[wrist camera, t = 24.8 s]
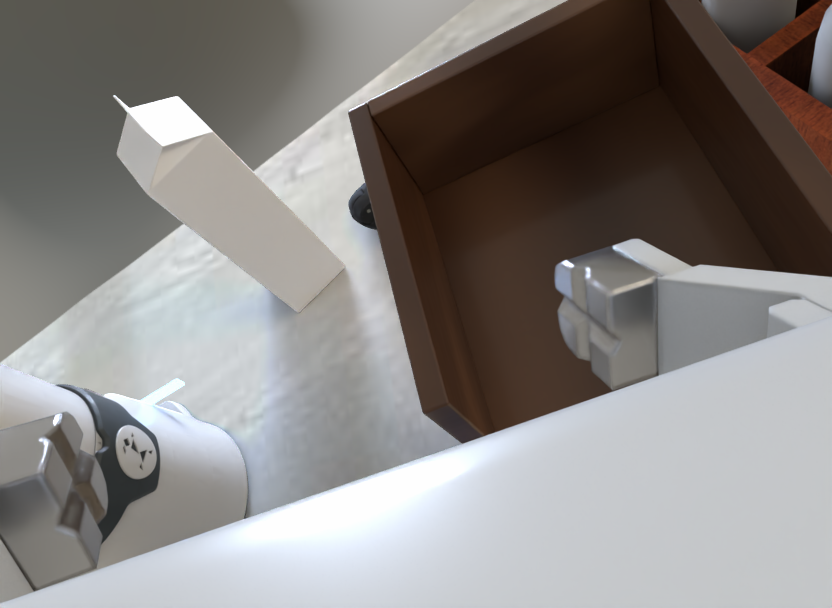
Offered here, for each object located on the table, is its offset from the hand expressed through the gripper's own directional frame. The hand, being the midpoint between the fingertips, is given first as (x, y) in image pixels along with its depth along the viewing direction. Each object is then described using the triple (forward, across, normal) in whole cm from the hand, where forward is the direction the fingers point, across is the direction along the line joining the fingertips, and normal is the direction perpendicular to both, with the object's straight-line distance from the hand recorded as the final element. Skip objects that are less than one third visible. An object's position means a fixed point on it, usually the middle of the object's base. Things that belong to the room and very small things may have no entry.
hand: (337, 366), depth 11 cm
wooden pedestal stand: (+21, -19, +24) cm, 37 cm away
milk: (+47, -2, +18) cm, 51 cm away
